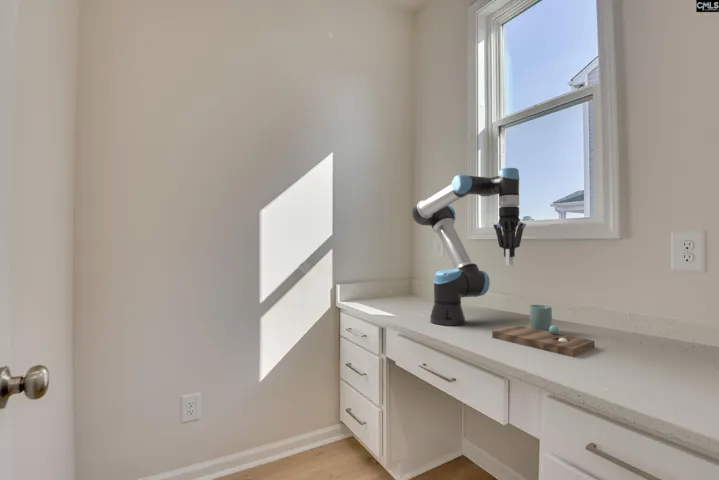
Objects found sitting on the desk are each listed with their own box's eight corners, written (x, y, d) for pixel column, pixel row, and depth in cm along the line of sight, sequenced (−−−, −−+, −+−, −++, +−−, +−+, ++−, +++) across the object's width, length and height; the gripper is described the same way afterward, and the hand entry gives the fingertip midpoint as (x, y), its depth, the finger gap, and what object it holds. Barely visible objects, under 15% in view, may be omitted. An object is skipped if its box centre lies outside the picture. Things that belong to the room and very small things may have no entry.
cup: (554, 334, 136) (554, 308, 136) (533, 333, 138) (532, 307, 138) (548, 329, 144) (548, 305, 144) (527, 328, 145) (527, 304, 145)
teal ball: (547, 333, 127) (547, 325, 127) (551, 332, 129) (551, 323, 129) (556, 335, 124) (556, 326, 124) (560, 334, 126) (560, 325, 126)
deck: (492, 337, 131) (492, 330, 131) (515, 331, 141) (515, 325, 141) (573, 357, 109) (573, 348, 109) (594, 348, 118) (594, 340, 118)
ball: (565, 339, 117) (566, 349, 116) (569, 337, 118) (570, 347, 118) (555, 338, 119) (556, 348, 119) (559, 336, 121) (561, 346, 121)
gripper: (489, 207, 145) (489, 264, 145) (519, 204, 135) (519, 266, 135) (499, 208, 150) (499, 264, 150) (529, 206, 139) (529, 265, 139)
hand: (509, 265), depth 142 cm, fingers closed
